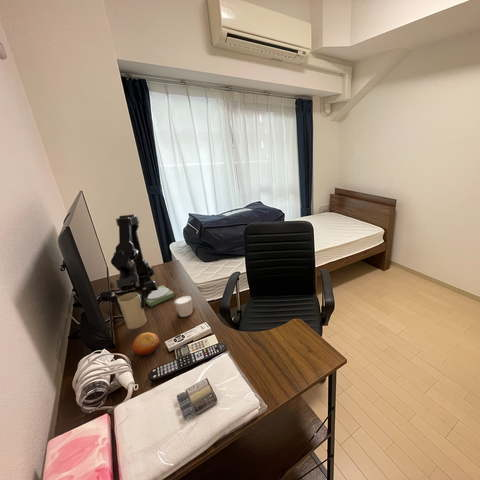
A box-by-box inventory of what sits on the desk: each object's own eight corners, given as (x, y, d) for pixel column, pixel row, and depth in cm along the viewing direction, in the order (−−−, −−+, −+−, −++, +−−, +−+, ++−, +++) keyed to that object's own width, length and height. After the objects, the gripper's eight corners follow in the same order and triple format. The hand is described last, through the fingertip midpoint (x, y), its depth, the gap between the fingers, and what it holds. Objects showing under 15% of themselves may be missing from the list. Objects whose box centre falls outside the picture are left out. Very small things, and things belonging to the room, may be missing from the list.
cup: (124, 324, 104) (115, 298, 99) (142, 316, 109) (134, 290, 104) (130, 331, 100) (121, 304, 96) (149, 322, 105) (141, 296, 101)
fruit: (139, 339, 97) (145, 325, 95) (158, 348, 99) (165, 334, 96) (123, 356, 90) (129, 341, 87) (144, 365, 91) (151, 350, 88)
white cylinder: (197, 308, 118) (194, 296, 115) (188, 318, 112) (185, 304, 109) (183, 307, 119) (180, 295, 116) (174, 317, 112) (170, 304, 110)
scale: (140, 298, 126) (139, 293, 125) (163, 288, 134) (162, 284, 133) (150, 306, 119) (149, 301, 118) (174, 296, 128) (173, 291, 127)
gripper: (92, 274, 95) (94, 314, 90) (150, 263, 103) (154, 300, 98) (103, 282, 104) (105, 319, 99) (155, 272, 113) (160, 306, 108)
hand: (131, 311), depth 101 cm, fingers closed on cup, 7 cm apart
